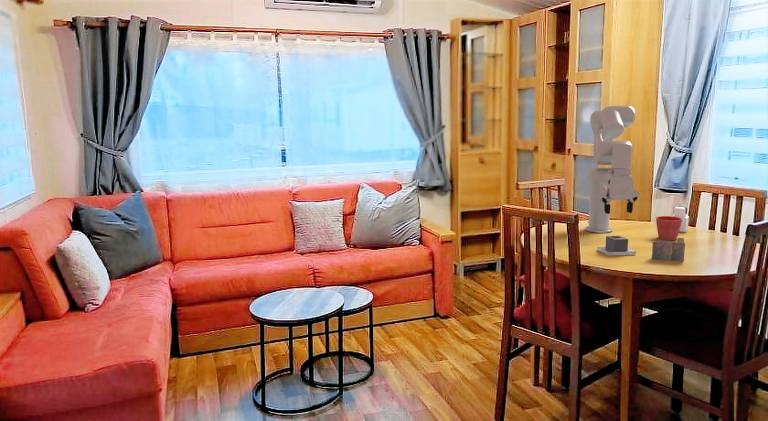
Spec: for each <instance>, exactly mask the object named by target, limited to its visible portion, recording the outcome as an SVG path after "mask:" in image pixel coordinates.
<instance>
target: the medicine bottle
mask: <svg viewBox="0 0 768 421" xmlns="http://www.w3.org/2000/svg"><path fill="white" fill-rule="evenodd" d="M671 216H672V217H678V218H681V219H682V223H681V226H680V230H679V233H686V232H687V231H688V230H689V222H690V221H689V219H690V216H689V215H688V207H686V206H680V205H676V206H673V213H672V215H671Z"/></svg>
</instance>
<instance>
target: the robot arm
mask: <svg viewBox="0 0 768 421" xmlns="http://www.w3.org/2000/svg"><path fill="white" fill-rule="evenodd" d="M589 119H590V121H589V123H590V127H591V132H592V133H593V152H592V154H593V155H592V156H593V157H592V159H593V163H594V164H595V165H598V166H601V165H602V166H610V167H595V168H592V169H591V170H590V172H589V173H588V174H589V175H588V179H589V180H588V181H589V208H588V209H589V210H588V211H589V212H588V213H589V214H588V221H587V224H588V226H586V227H584V228H585V231H587V232H590V233H597V234H598V233H599V234H605V233H611V232H612V231H613V228H611V227H610V215H611V202H612V201H627V203H626V212H627V213H629V214H632V213H633V210H634V204H635V202H636V201H637V200H638V197H640V194H641V193H640V192H639V191H637V190H635V189H634V188H635V186H634V179H633V175H631V170H632V169H631V168H632V154H633V150H634V146H633V145H632V143H631V142H630V141H628V140H615V139H617V138H619V137H621V136H622V135H623V134H624V131H625V129H627V128H629V127H630V126H632V125H633V124H634V122H635V120H636V111H635V109H634V107H632V106H631V105H609V106H605V107H604V108H603V109H602V110H597V111H596V110H595V111H593V112H592V113H591V114H590V118H589Z"/></svg>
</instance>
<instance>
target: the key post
mask: <svg viewBox="0 0 768 421" xmlns="http://www.w3.org/2000/svg"><path fill="white" fill-rule="evenodd" d="M616 239H617V238H616ZM596 251H597V252H600V253H602V254H604V255H605V256H606V257H607V256H608V257H616V256H617V257H619V256H621V257H622V256H636V255H637V251H636V250H634V249H631V248H630V247H628V251H612V250H610V249H608V248H606V246H597V249H596Z"/></svg>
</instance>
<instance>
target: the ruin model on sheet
mask: <svg viewBox="0 0 768 421" xmlns="http://www.w3.org/2000/svg"><path fill="white" fill-rule="evenodd" d="M685 249H686V242H685V237H677V239H676V241H672V240H658V241H654V240H652V249H651V250H652V251H651V259H652V260H657V261H673V262H684V261H685V251H686V250H685Z"/></svg>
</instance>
